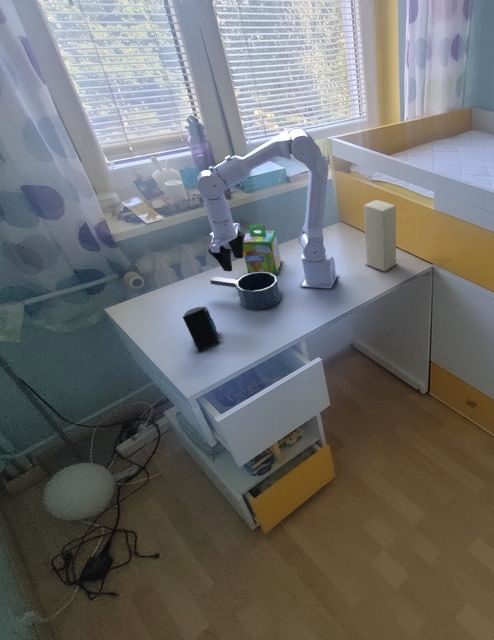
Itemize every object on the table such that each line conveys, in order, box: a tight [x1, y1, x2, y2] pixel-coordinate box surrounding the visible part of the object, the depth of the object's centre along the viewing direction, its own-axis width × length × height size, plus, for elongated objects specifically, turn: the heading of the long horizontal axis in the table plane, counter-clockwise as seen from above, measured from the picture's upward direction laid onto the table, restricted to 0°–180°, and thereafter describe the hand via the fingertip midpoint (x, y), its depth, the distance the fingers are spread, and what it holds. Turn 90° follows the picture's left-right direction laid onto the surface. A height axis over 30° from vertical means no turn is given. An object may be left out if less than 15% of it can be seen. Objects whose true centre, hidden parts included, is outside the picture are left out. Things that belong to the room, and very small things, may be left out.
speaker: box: [182, 306, 220, 353], centre depth 109 cm, size 8×6×10 cm
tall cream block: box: [363, 199, 397, 272], centre depth 141 cm, size 8×7×21 cm
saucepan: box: [209, 272, 281, 311], centre depth 126 cm, size 20×11×6 cm, turn 80°
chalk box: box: [243, 224, 282, 276], centre depth 137 cm, size 9×9×15 cm
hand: (233, 264), depth 123 cm, fingers open, 7 cm apart
